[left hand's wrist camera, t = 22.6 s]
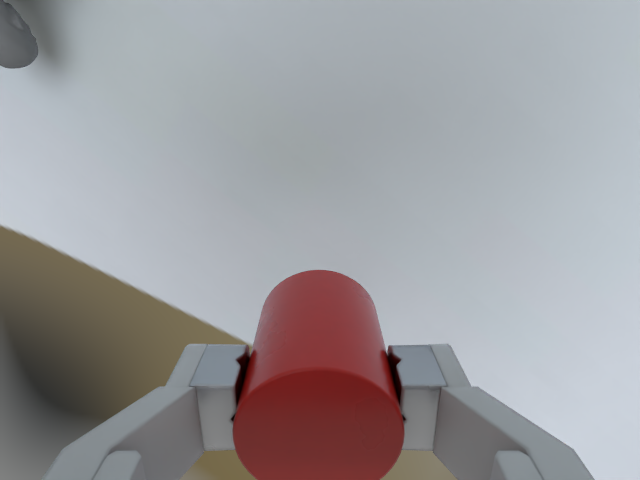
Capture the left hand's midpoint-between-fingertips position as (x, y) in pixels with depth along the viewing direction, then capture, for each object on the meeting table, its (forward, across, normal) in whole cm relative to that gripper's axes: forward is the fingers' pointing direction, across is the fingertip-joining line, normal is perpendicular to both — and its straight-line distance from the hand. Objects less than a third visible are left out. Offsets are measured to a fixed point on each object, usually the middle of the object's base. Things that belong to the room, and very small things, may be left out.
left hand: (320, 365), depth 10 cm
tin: (+2, 0, 0) cm, 2 cm away
